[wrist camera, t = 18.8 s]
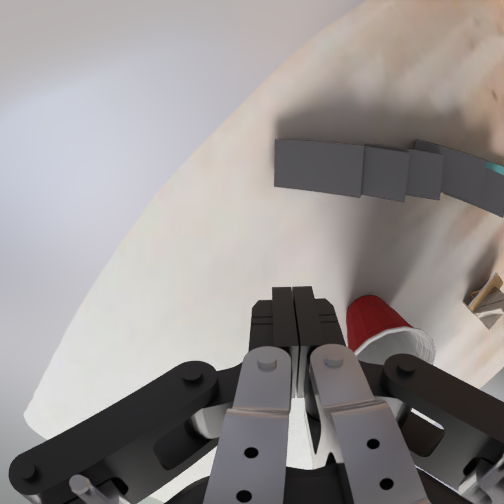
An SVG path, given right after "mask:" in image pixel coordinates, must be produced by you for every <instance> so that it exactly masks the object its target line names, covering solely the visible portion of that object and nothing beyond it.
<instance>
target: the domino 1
mask: <svg viewBox="0 0 504 504" xmlns="http://www.w3.org/2000/svg"><path fill="white" fill-rule="evenodd" d="M365 152H366V146H359V145H351V144H341V143H331V142H320V141H307V140H292V139H275V173H274V187H283V188H291V189H299V190H307V191H315V192H323V193H330V194H337V195H344V196H350V197H357V198H360V197H361V195H362V190H363V179H364V166H365Z"/></svg>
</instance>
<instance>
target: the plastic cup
mask: <svg viewBox="0 0 504 504" xmlns="http://www.w3.org/2000/svg"><path fill="white" fill-rule="evenodd" d="M346 324H347V339H348V348H349V349H351V350H352V351H353V352H354V353H355V355H356V357H357V359H358V360H360V361H363V362H366V363H372V364H380V365H384V363H385V361H386V360H387V358H389V357H390V356H392V355H395V354H400V353H405V354H411V355H414V356H416V357H418V358H420V359H422V360H424V361H426V362H428V363H429V364H431V365H433V362H434V357H435V353H436V351H435V348H434V344H433V340H432V339H431V338H430V337H429V336H428V335H427V334H426V333H424V332H423V331H422V330H420V329H416V328H414V327H412V326H411V325H409V324H408V323H407V322H406V321H405V320H404V319H403V318H402V317H401V316H400V315H399V314H398V313H397V312H396V311H395V310H394V309H392V308H391V307H390V306H389V305H388V304H387V303H386V302H384V301H383V300H382V299H381V298H379V297H377V296H373V295H367V296H362V297H360V298H358V299H357V300H355V301H354V302H353V303H352V304H351V305H350V306H349V309H348V311H347V315H346Z"/></svg>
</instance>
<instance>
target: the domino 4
mask: <svg viewBox="0 0 504 504" xmlns="http://www.w3.org/2000/svg"><path fill="white" fill-rule="evenodd" d="M414 150H421V151H427V152H433V153H439V154H442V155H444V160H443V172H442V182H441V190H442V191H445V192H448V193H452V194H455V195H458V196H461V197H464V198H467V199H470V200H473V201H476V202H479V199H480V194H481V189H482V185H483V180H484V174H485V169H486V163H487V160H484V159H481V158H478V157H475V156H472V155H469V154H466V153H463V152H460V151H457V150H453V149H450V148H447V147H443V146H440V145H436V144H433V143H429V142H425V141H421V140H418V139H416V141H415V148H414Z"/></svg>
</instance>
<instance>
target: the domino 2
mask: <svg viewBox="0 0 504 504" xmlns="http://www.w3.org/2000/svg"><path fill="white" fill-rule="evenodd" d="M331 143H336V142H331ZM341 144H345V143H341ZM351 145H354V144H351ZM359 146H362V145H359ZM409 155H410V153H408V152H402V151H396V150H390V149H383V148H376V147H369V146H366V152H365V166H364V179H363V190H362V195H366V196H372V197H378V198H383V199H389V200H395V201H400V202H404V200H405V193H406V184H407V176H408V166H409Z"/></svg>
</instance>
